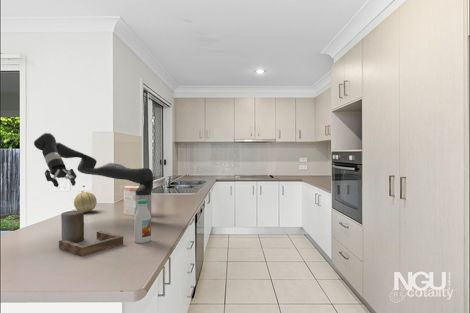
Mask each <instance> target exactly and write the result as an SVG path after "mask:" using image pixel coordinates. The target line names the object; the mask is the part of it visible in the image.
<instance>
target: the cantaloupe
mask: <svg viewBox="0 0 470 313" xmlns="http://www.w3.org/2000/svg"><path fill="white" fill-rule="evenodd" d="M97 203H98V200H97V197H96V196H95V195H94V193H92V192H90V191H83V190H82V191H81V192H80V193H78V194H76V196H74V199H73V206H74V208H75V209H76V211H83V212H87V213H89V212H91V211H93V210H94V209H95V208H96V207H97Z"/></svg>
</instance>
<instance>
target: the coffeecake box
mask: <svg viewBox="0 0 470 313" xmlns="http://www.w3.org/2000/svg"><path fill="white" fill-rule="evenodd" d="M138 188H139V185H138V186H137V185H125V186H123V215H127V216H132V217H135V207H136V190H137V189H138Z"/></svg>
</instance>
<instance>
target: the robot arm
mask: <svg viewBox="0 0 470 313" xmlns="http://www.w3.org/2000/svg"><path fill="white" fill-rule="evenodd" d="M33 146H34V148H36V149H37V150H39V151H41V152H42V155H43V156H42V157H43V158H44V160H45V163H46V165H47V167H48V169H45V171H44V176H45V179H46V181H47V182H52V184H53V186H54V187H55V188H58V187H59V182H58V180H57V179H61V178H62V179H66V180H69V181H70V183H71V186H72V187H73V186H74V187H75V185H76V183H77V182H76V178H77V176H78V175H77V174H76V172H75V170H74V169H73V168H70V169H67V168H66V165H65V162H64V160H63V159H72V158H73V159H74V158H80V161H79V164H78V166H77V171H78V173H82V174H84V175H92V176H101V177H106V178H110V179H115V180H124V181H129V182H132V183H135V184H139V185H138V186H139V188H138V189H137V190H136V207H135V214H136V212H137V209H138V200H142V199H146V200H148V204H147V207H148V210H149V212H150V215H151V216H152V191H153V189H154V173H153V170H152V169H150V168H147V167H141V168H130V167H126V166H124V165H122V164H119V163H113V162H108V163H105V164H103V165H101V166H98V167H96V165H97V160H96V158H94V157H92V156H90V155H87V154H86V153H83V152H81V151H78V150H75V149H73V148H70V147H68V145H65V144H64V143H62V142H60V141H57V140H56V138H55V136H54V135H53V134H52V133H51V132H44V133H42V134H41V135H39V137H37V138H36V139H35V140H34V141H33ZM62 158H63V159H62ZM52 176H53V177H52Z"/></svg>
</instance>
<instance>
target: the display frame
mask: <svg viewBox="0 0 470 313" xmlns="http://www.w3.org/2000/svg"><path fill="white" fill-rule="evenodd" d="M96 239H97V240H100V241H96V242H93V243H88V244H85V245H84V244H83V245H82V244H79V243H78V242H75V243H73V242H70V241H67V240H62V239H61V240H58V249H59V248H60V249H59V250H62V249H63V250H62V251H65V250H66V251H65V252H68V251H69V253H71V252H72V253H71V254H74V253H75V255H77V254H78V255H77V256H80V255H81V256H80V257H83V255H84V256H87V255H86V254H88V255H90V253H91V254H94V253H97V251H98V252H101V251H103V250H107V248H108V249H110V248H114V247H117V246H121V245H123V244H124V236H123V235H119V234H115V233H111V232H108V231H107V232H106V231H102V230H98V231H96Z"/></svg>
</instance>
